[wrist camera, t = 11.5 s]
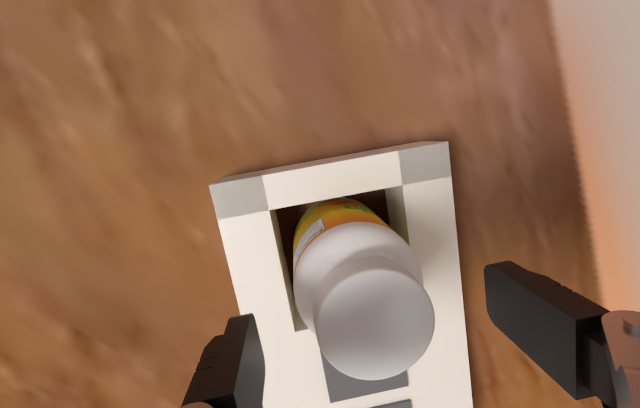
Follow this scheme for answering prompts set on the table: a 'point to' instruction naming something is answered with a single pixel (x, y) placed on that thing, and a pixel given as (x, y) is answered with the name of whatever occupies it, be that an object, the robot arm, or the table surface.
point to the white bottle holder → (276, 291)
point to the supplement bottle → (360, 290)
